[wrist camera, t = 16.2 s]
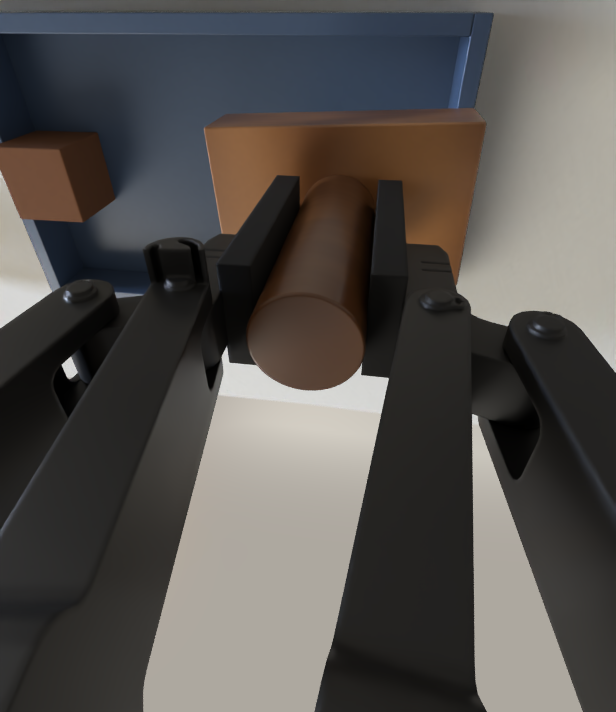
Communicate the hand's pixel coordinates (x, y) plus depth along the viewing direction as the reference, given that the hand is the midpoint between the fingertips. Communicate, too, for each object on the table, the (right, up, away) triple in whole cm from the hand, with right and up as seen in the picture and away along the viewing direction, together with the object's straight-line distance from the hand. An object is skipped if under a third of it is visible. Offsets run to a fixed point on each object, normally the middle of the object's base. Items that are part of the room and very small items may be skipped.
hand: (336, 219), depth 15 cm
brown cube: (-16, +7, +13) cm, 21 cm away
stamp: (+1, +3, +4) cm, 5 cm away
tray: (-5, +7, +12) cm, 15 cm away
